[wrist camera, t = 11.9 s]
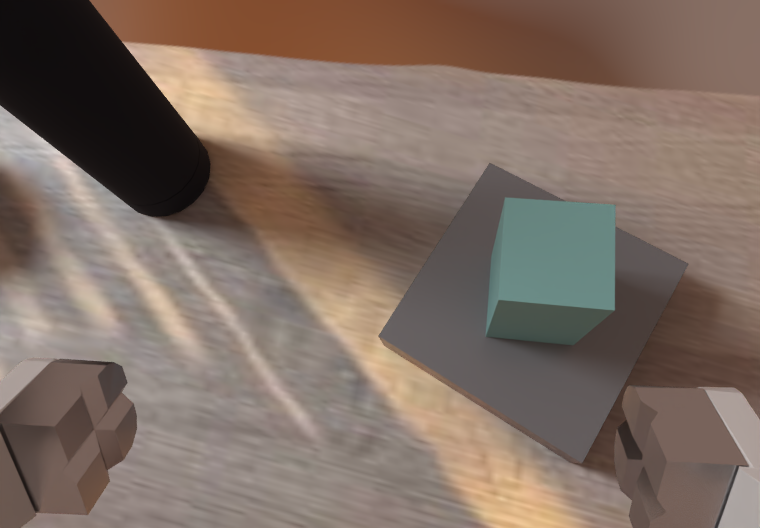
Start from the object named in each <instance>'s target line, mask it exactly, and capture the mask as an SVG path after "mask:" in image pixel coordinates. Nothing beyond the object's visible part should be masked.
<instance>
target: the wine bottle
mask: <svg viewBox="0 0 760 528" xmlns="http://www.w3.org/2000/svg"><path fill="white" fill-rule="evenodd" d="M0 105H1V106H2V107H3V108H4V109H6V110H7V111H8V112H10V113H11V114H12V115H13V116H15V117H16V118H17V119H19V120H20V121H21V122H22V123H24V124H25V125H26V126H28V127H29V128H30V129H31V130H33V131H34V132H35V133H37V134H38V135H39V136H40V137H42V138H43V139H44V140H46V141H47V142H48V143H49V144H51V145H52V146H53V147H55V148H56V149H57V150H58V151H60V152H61V153H62V154H64V155H65V156H66V157H67V158H69V159H70V160H71V161H73V162H74V163H75V164H76V165H78V166H79V167H80V168H82V169H83V170H84V171H85V172H87V173H88V174H89V175H91V176H92V177H93V178H94V179H96V180H97V181H98V182H99V183H101V184H102V185H103V186H105V187H106V188H107V189H108V190H110V191H111V192H112V193H114V194H115V195H116V196H117V197H119V198H120V199H121V200H123V201H124V202H125V203H126V204H128V205H129V206H130V207H132V208H133V209H134V210H136V211H137V212H139V213H142V214H145V215H149V216H167V215H170V214H173V213H176V212H179V211H181V210H183V209H184V208H186V207H187V206H189V205H190V204H192V203H193V202H194V201H195V200H196V199H197V198H198V196H199V195H200V194H201V193H202V192H203V190H204V188H205V186H206V183H207V181H208V179H209V173H210V160H209V156H208V152H207V150H206V149H205V147H204V146H203V144H202V143H201V142H200V140H199V139H198V138H197V136H196V135H195V134H194V133H193V131H192V130H191V129H190V128H189V126H188V125H187V124H186V123H185V121H184V120H183V119H182V117H181V116H180V115H179V114H178V112H177V111H176V110H175V109H174V107H173V106H172V105H171V103H170V102H169V101H168V100H167V98H166V97H165V96H164V95H163V93H162V92H161V91H160V90H159V88H158V87H157V86H156V84H155V83H154V82H153V81H152V79H151V78H150V77H149V76H148V74H147V73H146V72H145V71H144V69H143V68H142V67H141V65H140V64H139V63H138V62H137V60H136V59H135V58H134V57H133V55H132V54H131V53H130V52H129V50H128V49H127V48H126V46H125V45H124V44H123V43H122V41H121V40H120V39H119V38H118V36H117V35H116V34H115V33H114V31H113V30H112V29H111V27H110V26H109V25H108V24H107V22H106V21H105V20H104V19H103V17H102V16H101V15H100V14H99V12H98V11H97V10H96V8H95V7H94V6H93V5H92V3H91V2H90V1H89V0H0Z"/></svg>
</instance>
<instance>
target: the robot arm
mask: <svg viewBox="0 0 760 528" xmlns="http://www.w3.org/2000/svg"><path fill="white" fill-rule="evenodd" d="M126 384H127V380H126V377H125V374H124V371H123V368H122V366H120V365H118V364H116V363H114V362H101V361H86V360H71V359H50V358H30V359H26V360H23V361H21V362H20V363H19V364H18V365H17V366H16V367H15V368H14V369H13V370H12V371H11V372H10V373H9V374H8V375H6V376H5V377H4V378H3V379H2V380H1V381H0V528H21V527H22V526H23V525H25V524H26V523H27V522H29V521H30V520H31V519H33V518H34V517H35V516H36V513H53V514H77V515H88V514H89V512H90V511H91V509H92V508H93V506H94V505H95V503H96V502H97V500H98V499H99V497H100V496H101V494H102V492H103V491H104V489H105V488H106V486H107V485H108V483H109V482H110V479H109V474H108V469H110V468H112V467H113V466H115V465H116V464H118V463H119V462H121V461H123V460H124V458H125V457H126V455H127V454H128V452H129V450H130V449H131V447H132V445H133V441H134V437H135V434H136V430H137V415H136V411H135V407H134V404H133V403H132V402H131V401H130V400H129V399H128V398H127V397H126V396H125V395H124V394H123V393H122V391H123V389H124V388H125V386H126ZM622 408H623V411H624V414H625V417H626V419H627V420H626V421H625V422H624V423H623V424H621V425H620V426H619V427H618V428H617V431H616V437H615V443H614V464H615V470H616V476H617V479H618V483H619V486H620V489H621V491H622V492H623V493H624V494H625V495H626V496H628V497H629V498H630V499H631V500H632V504H631V508H630V512H629V518H630V521H631V524H632V527H633V528H760V419H759V418H758V416H757V415H756V413H755V412H754V410H753V409H752V407H751V406H750V404H749V403H748V401H747V400H746V398H745V397H744V395H743V394H742V393H741V392H740V391H739V390H737V389H736V388H733V387H698V388H690V387H664V386H638V385H628V387H627V389H626V391H625V393H624V397H623V402H622Z"/></svg>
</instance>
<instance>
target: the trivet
mask: <svg viewBox="0 0 760 528" xmlns="http://www.w3.org/2000/svg"><path fill="white" fill-rule="evenodd" d="M505 197H506V198H521V199H535V200H550V201H564V200H562V199H560V198H558V197H556V196H554V195H552V194H550V193H548V192H546V191H544V190H542V189H540V188H538V187H536V186H535V185H533V184H531V183H529V182H527V181H525V180H523V179H521V178H519V177H517V176H515V175H513V174H511V173H509V172H507V171H505V170H503V169H501V168H499V167H497V166H495V165H493V164H491V163H489V165H488V166H487V168H486V169H485V171H484V173H483V174H482V176H481V177H480V179H479V180H478V182H477V183H476V185H475V187H474V188H473V190H472V191H471V193H470V194H469V196H468V197H467V199H466V201H465V202H464V204H463V205H462V207H461V208H460V210H459V211H458V213H457V215H456V216H455V218H454V219H453V221H452V222H451V224H450V225H449V227H448V229H447V230H446V232H445V233H444V235H443V236H442V238H441V239H440V241H439V243H438V244H437V246H436V247H435V249H434V250H433V252H432V253H431V255H430V257H429V258H428V260H427V261H426V263H425V264H424V266H423V267H422V269H421V271H420V272H419V274H418V275H417V277H416V278H415V280H414V281H413V283H412V285H411V286H410V288H409V289H408V291H407V292H406V294H405V295H404V297H403V299H402V300H401V302H400V303H399V305H398V306H397V308H396V309H395V311H394V313H393V314H392V316H391V317H390V319H389V320H388V322H387V323H386V325H385V327H384V328H383V330H382V331H381V333H380V334H379V338H380V340H381V341H382V343H383V345H384V346H385V347H387V348H389V349H390V350H392V351H393V352H395V353H397V354H398V355H400V356H401V357H403V358H405V359H406V360H408V361H409V362H411V363H412V364H414V365H416V366H417V367H419V368H420V369H422V370H424V371H425V372H427V373H428V374H430V375H432V376H433V377H435V378H436V379H438V380H440V381H441V382H443V383H444V384H446V385H448V386H449V387H451V388H452V389H454V390H455V391H457V392H459V393H460V394H462V395H463V396H465V397H467V398H468V399H470V400H471V401H473V402H475V403H476V404H478V405H479V406H481V407H483V408H484V409H486V410H487V411H489V412H491V413H492V414H494V415H495V416H497V417H498V418H500V419H502V420H503V421H505V422H506V423H508V424H510V425H511V426H513V427H514V428H516V429H518V430H519V431H521V432H522V433H524V434H526V435H527V436H529V437H530V438H532V439H534V440H535V441H537V442H538V443H540V444H541V445H543V446H545V447H546V448H548V449H549V450H551V451H553V452H554V453H556V454H557V455H559V456H561V457H562V458H564V459H565V460H567V461H569V462H571V463H583V461H584V459H585V457H586V455H587V453H588V451H589V450H590V448H591V446H592V444H593V442H594V440H595V438H596V436H597V435H598V433H599V431H600V429H601V427H602V425H603V423H604V421H605V420H606V418H607V416H608V414H609V412H610V410H611V408H612V406H613V405H614V403H615V401H616V399H617V397H618V395H619V393H620V391H621V390H622V388H623V386H624V384H625V382H626V380H627V378H628V376H629V375H630V373H631V371H632V369H633V367H634V365H635V363H636V361H637V359H638V358H639V356H640V354H641V352H642V350H643V348H644V346H645V344H646V343H647V341H648V339H649V337H650V335H651V333H652V331H653V329H654V328H655V326H656V324H657V322H658V320H659V318H660V316H661V314H662V313H663V311H664V309H665V307H666V305H667V303H668V301H669V299H670V298H671V296H672V294H673V292H674V290H675V288H676V286H677V284H678V283H679V281H680V279H681V277H682V275H683V273H684V271H685V269H686V268H687V266H688V263H686V262H684V261H682V260H680V259H678V258H676V257H674V256H672V255H670V254H668V253H666V252H664V251H662V250H660V249H658V248H656V247H654V246H652V245H651V244H649V243H647V242H645V241H643V240H641V239H639V238H637V237H635V236H633V235H631V234H629V233H627V232H625V231H623V230H621V229H619V228H617V227H615V311H613V312H612V313H611V314H610V315H609V316H608V317H606V318H605V319H604V320H603V321H602V322H600V323H599V324H598V325H597V326H596V327H594V328H593V329H592V330H591V331H590V332H588V333H587V334H586V335H585V336H584V337H582V338H581V339H580V340H579V341H578V342H576V343H575V344H574V345H564V344H554V343H544V342H534V341H524V340H514V339H504V338H494V337H486V325H487V311H488V296H489V282H490V268H491V256H492V251H493V247H494V243H495V239H496V234H497V230H498V226H499V222H500V217H501V213H502V209H503V205H504V200H505ZM565 202H566V201H565Z"/></svg>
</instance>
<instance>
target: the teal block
mask: <svg viewBox="0 0 760 528" xmlns="http://www.w3.org/2000/svg"><path fill="white" fill-rule="evenodd" d="M613 311H615V205H609V204H594V203H580V202H565V201H550V200H535V199H521V198H506V197H505V200H504V205H503V209H502V213H501V217H500V222H499V226H498V230H497V234H496V239H495V243H494V247H493V251H492V256H491V268H490V282H489V296H488V311H487V325H486V337H494V338H504V339H514V340H524V341H534V342H544V343H554V344H564V345H574V344H575V343H576V342H578V341H579V340H580V339H581V338H582V337H584V336H585V335H586V334H587V333H588V332H590V331H591V330H592V329H593V328H594V327H596V326H597V325H598V324H599V323H600V322H602V321H603V320H604V319H605V318H606V317H608V316H609V315H610V314H611V313H612V312H613Z"/></svg>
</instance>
